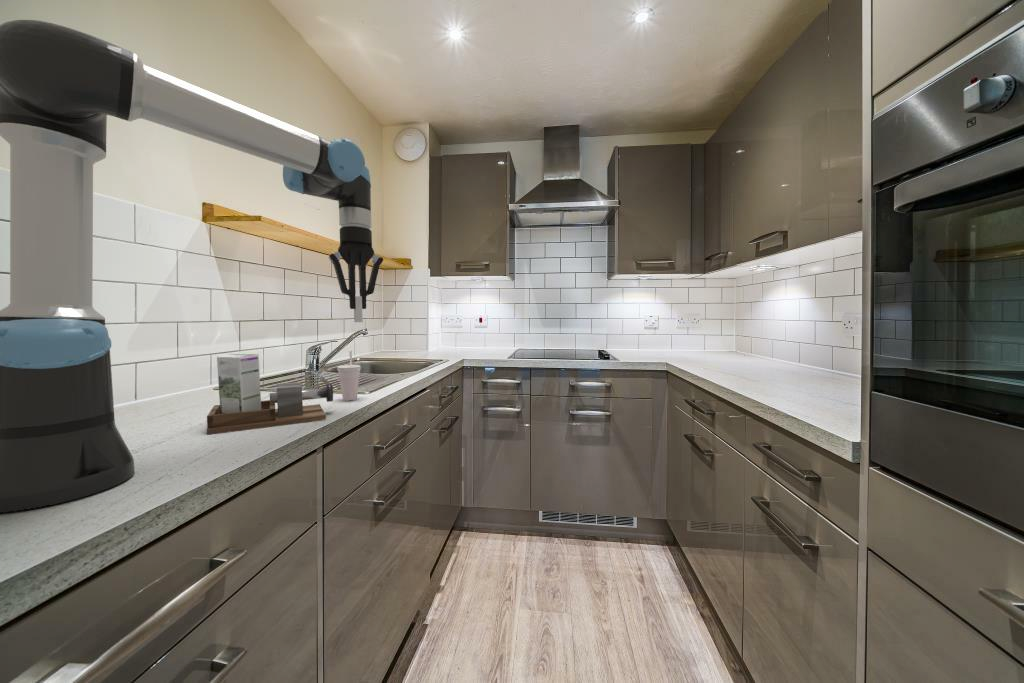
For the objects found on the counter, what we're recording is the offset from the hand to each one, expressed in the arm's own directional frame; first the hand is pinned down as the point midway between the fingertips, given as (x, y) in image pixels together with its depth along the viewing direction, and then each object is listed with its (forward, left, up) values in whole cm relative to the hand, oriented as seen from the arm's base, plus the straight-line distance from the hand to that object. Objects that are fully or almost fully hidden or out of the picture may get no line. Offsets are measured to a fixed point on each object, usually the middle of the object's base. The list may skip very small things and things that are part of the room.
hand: (358, 322), depth 101 cm
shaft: (0, +13, -20) cm, 24 cm away
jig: (0, +20, -22) cm, 30 cm away
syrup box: (0, +26, -22) cm, 33 cm away
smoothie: (+14, +1, -23) cm, 27 cm away
